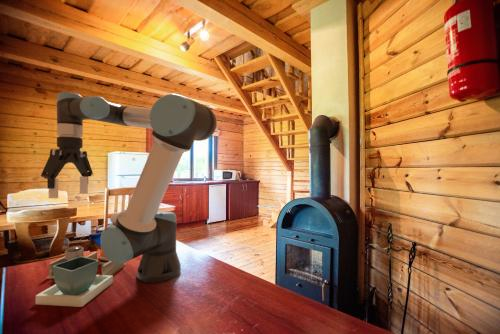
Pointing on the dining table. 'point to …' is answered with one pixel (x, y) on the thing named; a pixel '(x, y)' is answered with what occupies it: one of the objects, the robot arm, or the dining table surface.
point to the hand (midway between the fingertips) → (69, 195)
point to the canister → (74, 253)
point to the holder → (107, 267)
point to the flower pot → (75, 275)
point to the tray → (58, 298)
